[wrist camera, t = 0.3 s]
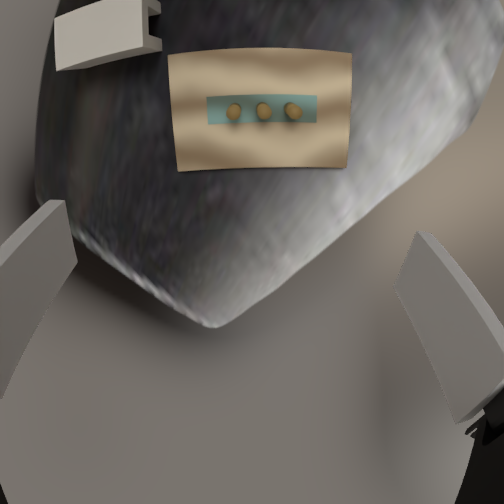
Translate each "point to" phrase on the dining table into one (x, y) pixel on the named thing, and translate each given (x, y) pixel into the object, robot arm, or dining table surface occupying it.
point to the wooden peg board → (260, 108)
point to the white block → (104, 33)
